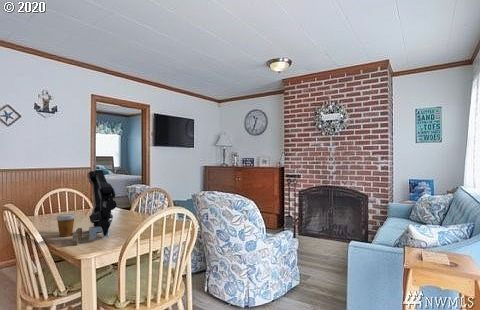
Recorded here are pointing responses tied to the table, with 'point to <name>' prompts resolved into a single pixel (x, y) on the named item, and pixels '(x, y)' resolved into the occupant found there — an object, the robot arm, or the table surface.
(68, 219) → the disposable coffee cup
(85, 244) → the table surface
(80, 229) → the notched wooden post
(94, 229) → the notched blue slab
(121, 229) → the table surface
